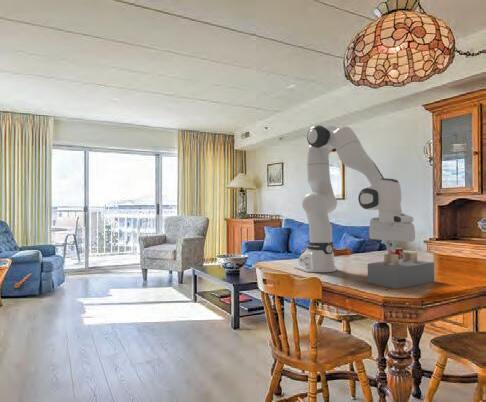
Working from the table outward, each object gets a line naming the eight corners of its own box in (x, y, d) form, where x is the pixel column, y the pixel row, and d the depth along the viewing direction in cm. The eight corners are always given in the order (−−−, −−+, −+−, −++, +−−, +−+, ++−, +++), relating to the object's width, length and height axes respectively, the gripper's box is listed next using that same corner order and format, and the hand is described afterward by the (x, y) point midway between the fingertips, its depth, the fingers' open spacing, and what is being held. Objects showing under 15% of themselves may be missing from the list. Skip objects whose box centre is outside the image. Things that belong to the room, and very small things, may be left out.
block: (368, 282, 160) (367, 263, 160) (405, 276, 172) (404, 258, 172) (396, 288, 148) (396, 268, 148) (434, 281, 160) (434, 262, 160)
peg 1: (384, 271, 158) (383, 254, 158) (390, 270, 160) (390, 253, 160) (392, 272, 155) (391, 255, 155) (398, 271, 157) (398, 254, 157)
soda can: (403, 272, 182) (402, 247, 182) (405, 275, 176) (405, 248, 176) (387, 271, 184) (387, 246, 184) (389, 274, 177) (388, 248, 178)
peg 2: (403, 268, 164) (402, 252, 164) (409, 267, 166) (408, 251, 166) (411, 269, 161) (410, 253, 161) (417, 268, 163) (417, 252, 163)
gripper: (365, 217, 165) (365, 249, 165) (406, 218, 147) (407, 254, 147) (375, 217, 168) (376, 248, 168) (417, 217, 150) (418, 253, 150)
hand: (391, 251), depth 157 cm, fingers closed
